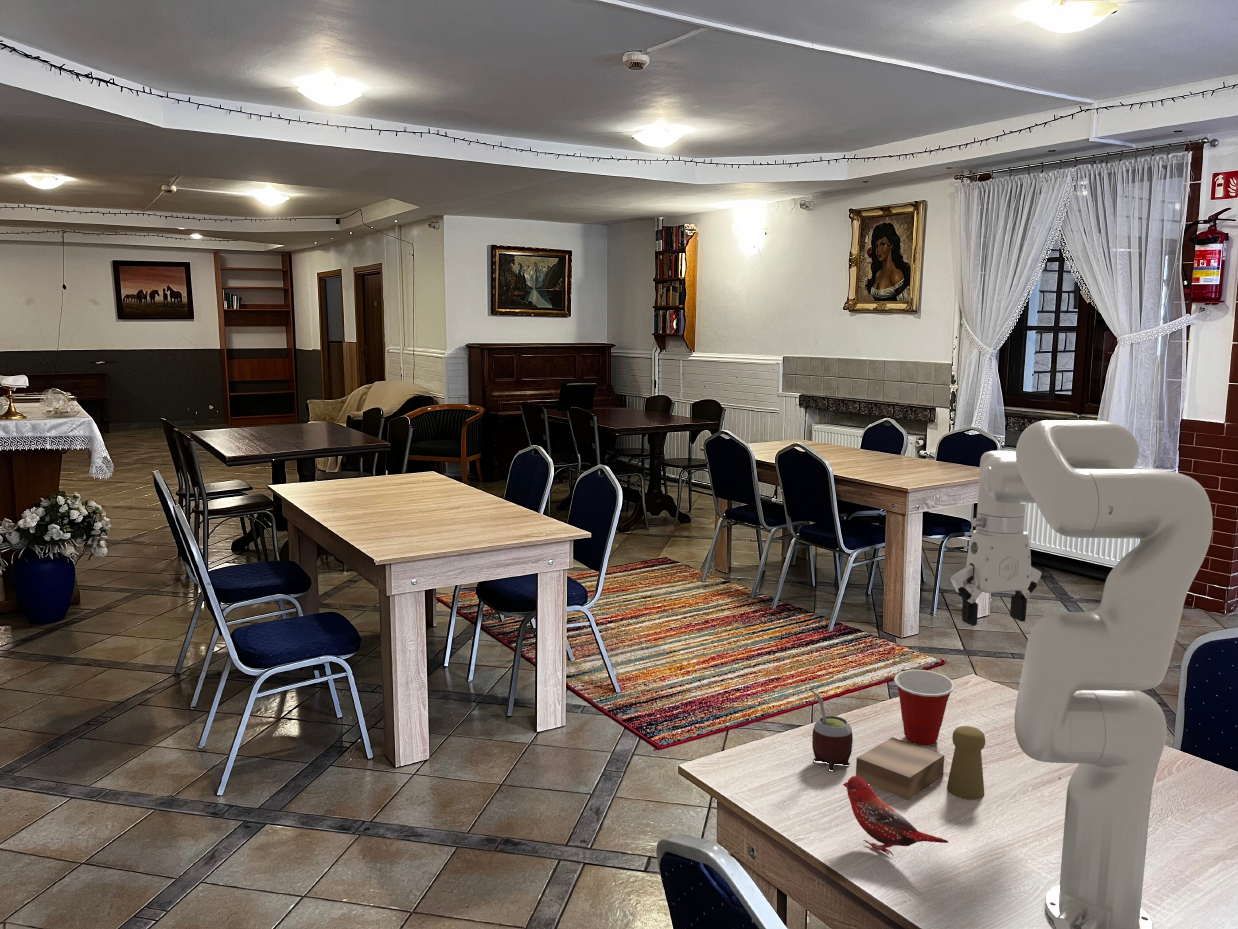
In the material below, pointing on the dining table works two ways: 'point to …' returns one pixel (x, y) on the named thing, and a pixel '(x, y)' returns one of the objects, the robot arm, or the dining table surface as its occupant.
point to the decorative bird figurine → (882, 818)
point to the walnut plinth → (900, 768)
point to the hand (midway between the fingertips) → (993, 621)
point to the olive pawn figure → (967, 764)
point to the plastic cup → (923, 704)
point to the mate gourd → (831, 738)
